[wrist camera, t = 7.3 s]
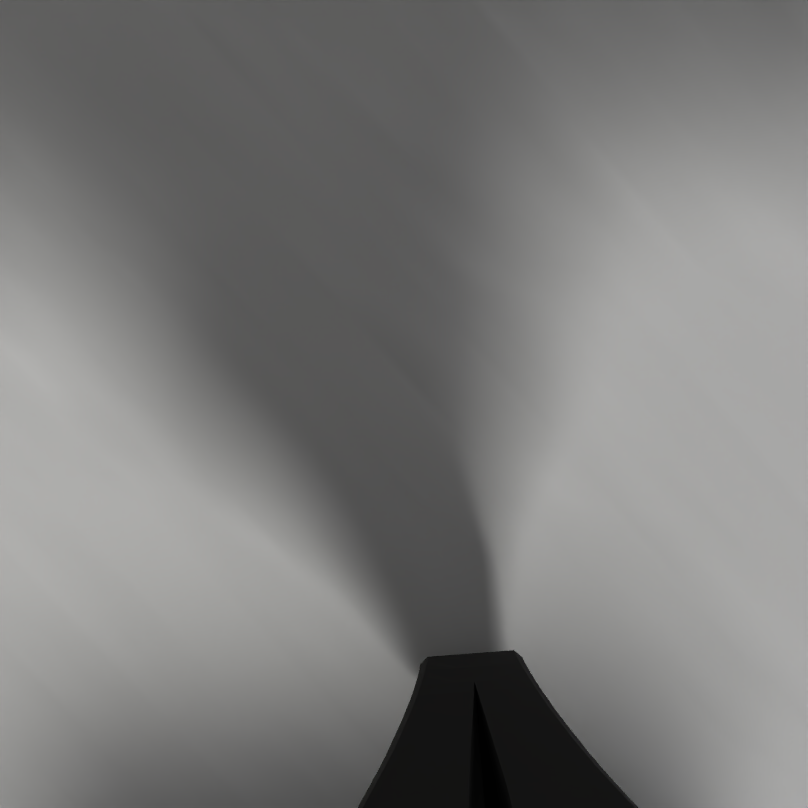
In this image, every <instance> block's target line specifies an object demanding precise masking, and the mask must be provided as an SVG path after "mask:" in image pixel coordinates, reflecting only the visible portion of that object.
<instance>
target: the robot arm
mask: <svg viewBox="0 0 808 808" xmlns="http://www.w3.org/2000/svg"><path fill="white" fill-rule="evenodd" d="M358 808H638V807H637V806H636V805H635V804H634V803H633V802H632V801H631V800H630V799H629V798H628V796H627V795H626V794H625V793H624V792H623V791H622V790H621V789H620V788H619V787H618V785H617V784H616V783H615V782H614V781H613V780H612V779H611V778H610V777H609V776H608V774H607V773H606V772H605V771H604V770H603V769H602V768H601V766H600V765H599V764H598V763H597V762H596V761H595V759H594V758H593V757H592V756H591V755H590V754H589V752H588V751H587V750H586V748H585V747H584V746H583V745H582V743H581V742H580V741H579V740H578V738H577V737H576V736H575V735H574V733H573V732H572V731H571V730H570V728H569V727H568V726H567V725H566V723H565V722H564V721H563V719H562V718H561V717H560V715H559V714H558V713H557V711H556V710H555V709H554V707H553V706H552V704H551V703H550V702H549V700H548V699H547V697H546V696H545V694H544V693H543V691H542V690H541V688H540V687H539V685H538V684H537V682H536V681H535V679H534V678H533V676H532V674H531V673H530V671H529V669H528V667H527V666H526V664H525V662H524V660H523V658H522V657H521V656H520V655H519V654H518V653H516V652H515V651H514V650H513V651H499V652H486V653H473V654H460V655H446V656H433V657H427V658H426V659H425V660H424V661H423V663H422V664H421V665H420V670H419V674H418V678H417V681H416V685H415V688H414V691H413V694H412V696H411V699H410V702H409V704H408V707H407V709H406V712H405V714H404V717H403V719H402V722H401V724H400V726H399V728H398V730H397V733H396V735H395V737H394V739H393V741H392V743H391V746H390V748H389V750H388V752H387V754H386V756H385V758H384V760H383V762H382V764H381V766H380V768H379V770H378V772H377V774H376V776H375V777H374V779H373V781H372V783H371V785H370V786H369V788H368V790H367V792H366V794H365V796H364V797H363V799H362V801H361V803H360V805H359V806H358Z"/></svg>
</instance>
